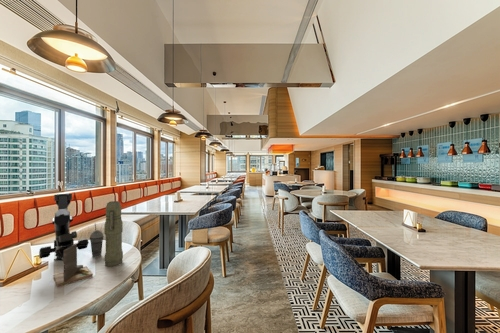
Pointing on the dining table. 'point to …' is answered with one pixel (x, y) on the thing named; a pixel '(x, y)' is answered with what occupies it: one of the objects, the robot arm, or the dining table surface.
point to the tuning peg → (71, 262)
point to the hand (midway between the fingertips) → (67, 263)
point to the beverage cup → (96, 242)
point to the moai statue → (113, 234)
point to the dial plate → (76, 277)
